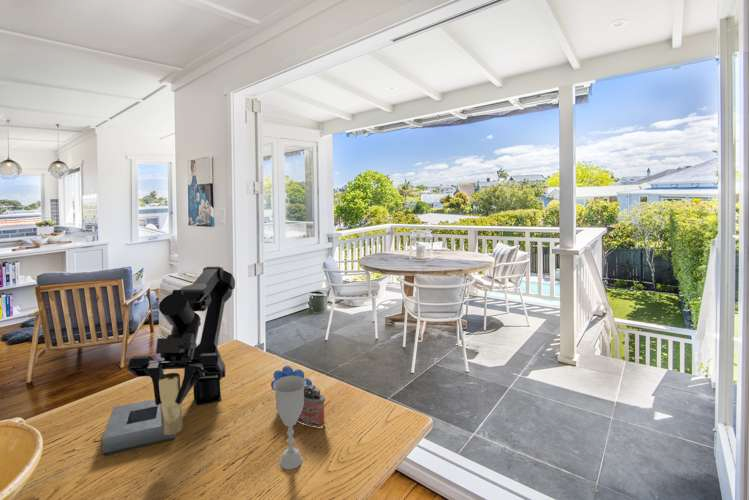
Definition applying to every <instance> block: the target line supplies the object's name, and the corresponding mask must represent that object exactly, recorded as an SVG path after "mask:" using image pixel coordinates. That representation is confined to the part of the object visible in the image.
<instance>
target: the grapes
mask: <svg viewBox="0 0 749 500" xmlns="http://www.w3.org/2000/svg"><path fill="white" fill-rule="evenodd" d="M286 376H299V377H302V378H304V379H305V380H306V384H305V385H308V386H311V385H313V382H312V380H311V379H309V378H307V377H305V373H304V371H303V370H302V369H300V368H297V369H293V368H292V366H289V365H286V366H285V365H284V367H282V370H278V369H277V370H275V371H274V372H273V380H272V381H271V382H270V387H271V389H272V390H273V392H274V391H275V392H276V390H275V389H274V387H273V385H274V383H275V381H277V380H278V379H280V378H282V377H286Z"/></svg>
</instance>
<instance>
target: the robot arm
mask: <svg viewBox="0 0 749 500" xmlns="http://www.w3.org/2000/svg"><path fill="white" fill-rule="evenodd" d="M235 287H236V279H235V277H234V276H233V274H232V273H230V272H229V271H226V270H224V268H223V267H222V266H206V267H203V270H202V272H201V274H200V275H199V276H198V277H197V278H196V280H195V281H194V282H193V283H192V284H189V285H185V286H182V287H181V288H180V289H173V290H172V293H170V294H168V295H166V296H165V297H163V299H161V301H160V302H159V304H158V309H159V312H160V313H161V315H162V316H163V318H164V319H165V320H166V321H167V323H168V324H169V325H170V326H172V329H171V331H170V334H168V335H167V336H166V337H164V338H163V337H160V338H157V339H156V347H155V355H159V354H160V355H159V357H160V358H161V359H164V360H154V359H153V357H152V356H151V355H136V356H132V357H131V358H130V359H129V360H128V361H127V365H126V369H127V370H128V371H129V372H131V374H133V376H135V377H139V378H140V377H141V378H142V377H149V378H151V380H152V381H151V382H152V385H153V392H154V393H153V394H154V399H155V404H156V405H159V404H160V394H159V378H160V377H161V376H163V375H165V374H166V373H165V370H184V372H183V373H184V374H183V378H182V382H181V384H180V387H181V389H180V392H179V396H178V404H181V405H182V403H183V401H184V400H185V398H186V397H187V396H188V393H189V392H190V391H191V390H192V388H193V399H194V401H195V404H196V405H197V406H198V405H202V404H203V405H204V404H208V403H213V402H217V401H222V393H221V380H222V379H223V378H225V377H226V364H225V363H224V360H223V359H222V355H221V353H220V351H219V349H218V342H219V336H220V332H221V327H222V326H221V325H222V319H223V315H224V310H225V304H226V302H227V301H229V300H230V299H231V297H232V294H233V290H235ZM205 311H206V313H205V319H204V324H203V327H202V332H201V337H200V341H199V343H198V344H197V339H198V335H199V334H198V333H199V328H200V326H201V325H202V324H201V320H202V319H201V316H200V315H199V314H198V313H197V312H205Z"/></svg>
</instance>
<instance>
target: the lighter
mask: <svg viewBox="0 0 749 500" xmlns="http://www.w3.org/2000/svg"><path fill="white" fill-rule="evenodd" d="M325 401H326V397H325V396H324V395H321V388H318V387H316V385H314V384H312V385H311V386H308V385H305V386H304V406H303V409H302V412H301V414H300V416H299V418H298V421H299V422H301V423H304V424H307V425H310V426H316V427H321V426H323V425H324V424H325V425H326V421H325Z"/></svg>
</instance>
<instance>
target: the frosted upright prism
mask: <svg viewBox="0 0 749 500" xmlns="http://www.w3.org/2000/svg"><path fill="white" fill-rule="evenodd" d="M164 374H165V375H163V376H161V377H160V378H159V394H160V409H161V425H162V433H163V434H165V435H172V434H175V435H176V434H178V433H179V432H180V431H182V430H183V427H184V425H183V423H184V422H183V412H182V411H183V409H182V407H183V406H182V403H181V404H178V396H179V392H180V389H181V375H180V374H179V373H177V372H170V373H164Z"/></svg>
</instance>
